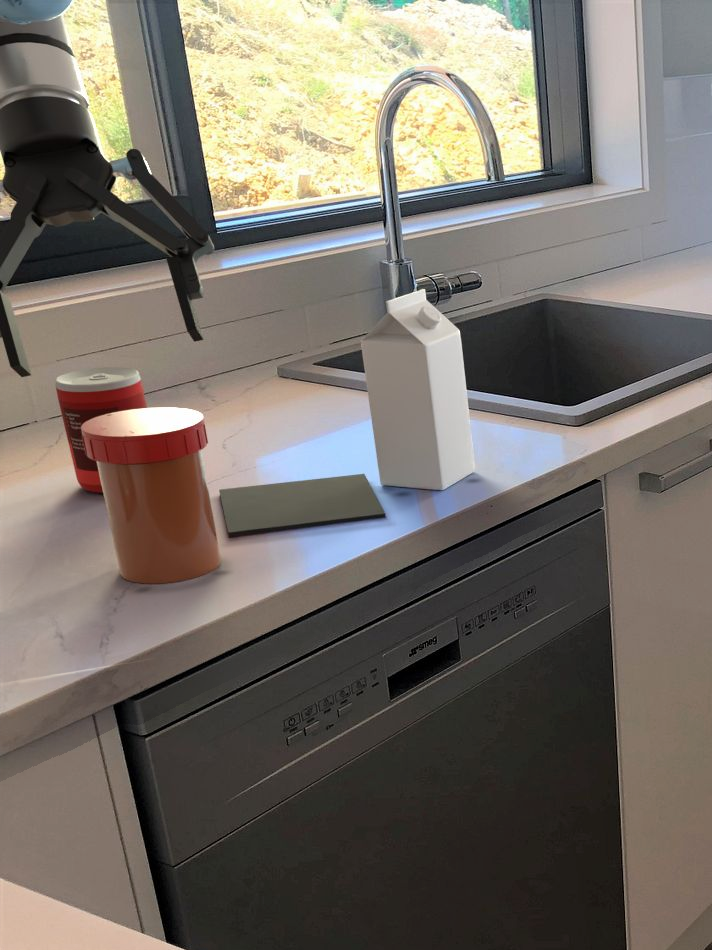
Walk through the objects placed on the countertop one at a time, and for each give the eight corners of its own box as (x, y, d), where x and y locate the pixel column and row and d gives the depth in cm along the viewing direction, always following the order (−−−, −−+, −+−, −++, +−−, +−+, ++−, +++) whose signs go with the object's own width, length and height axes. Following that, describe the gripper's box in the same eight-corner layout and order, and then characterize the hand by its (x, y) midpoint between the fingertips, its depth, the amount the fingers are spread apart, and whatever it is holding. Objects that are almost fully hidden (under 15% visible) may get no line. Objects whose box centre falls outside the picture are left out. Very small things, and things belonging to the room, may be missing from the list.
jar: (120, 589, 116) (89, 444, 111) (120, 558, 123) (91, 420, 118) (223, 575, 120) (198, 434, 114) (218, 546, 126) (194, 411, 121)
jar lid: (85, 469, 111) (79, 441, 110) (87, 439, 119) (81, 413, 118) (210, 456, 115) (206, 429, 114) (205, 428, 123) (200, 403, 122)
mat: (228, 537, 128) (227, 532, 128) (219, 494, 140) (219, 489, 139) (386, 518, 134) (385, 513, 134) (365, 478, 145) (364, 473, 145)
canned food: (148, 466, 148) (127, 363, 143) (171, 484, 142) (149, 377, 138) (69, 479, 143) (44, 374, 139) (89, 498, 138) (64, 389, 133)
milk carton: (380, 486, 143) (354, 299, 135) (415, 467, 149) (392, 287, 141) (442, 492, 141) (420, 303, 134) (476, 472, 148) (456, 290, 140)
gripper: (206, 111, 124) (272, 336, 123) (-104, 162, 117) (-38, 400, 116) (187, 67, 116) (257, 305, 115) (-144, 119, 110) (-74, 372, 109)
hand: (109, 353), depth 116 cm, fingers open, 13 cm apart
